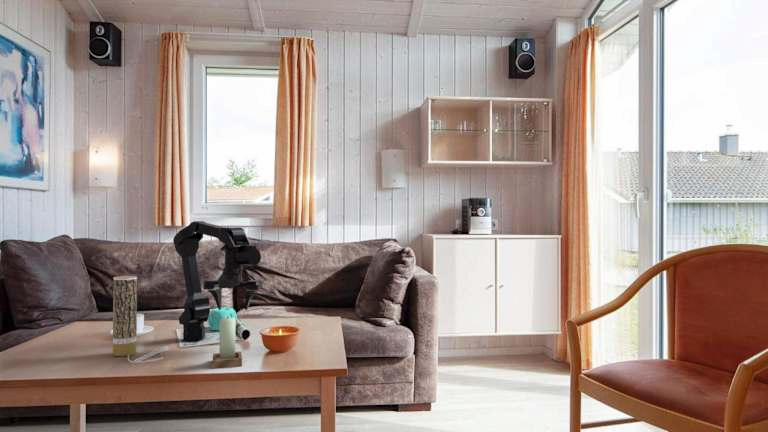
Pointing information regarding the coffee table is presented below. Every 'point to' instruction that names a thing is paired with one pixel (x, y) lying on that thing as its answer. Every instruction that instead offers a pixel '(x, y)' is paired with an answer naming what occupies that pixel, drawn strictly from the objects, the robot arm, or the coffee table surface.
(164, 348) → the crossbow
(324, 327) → the coffee table surface
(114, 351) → the wooden log cylinder
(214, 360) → the holder
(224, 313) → the decorative dice
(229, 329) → the candle
